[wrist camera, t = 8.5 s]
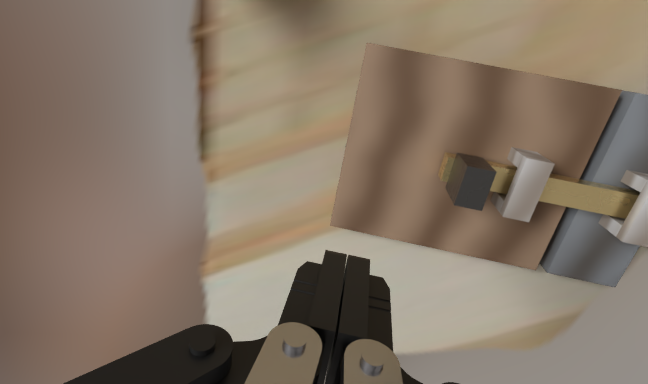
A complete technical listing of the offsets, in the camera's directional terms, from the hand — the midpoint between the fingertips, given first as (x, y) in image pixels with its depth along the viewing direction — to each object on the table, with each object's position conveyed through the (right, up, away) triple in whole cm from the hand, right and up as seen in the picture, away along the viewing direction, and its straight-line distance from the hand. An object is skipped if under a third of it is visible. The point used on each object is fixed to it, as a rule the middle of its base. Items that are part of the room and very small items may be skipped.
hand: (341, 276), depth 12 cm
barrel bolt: (+17, +4, +17) cm, 24 cm away
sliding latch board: (+14, +5, +20) cm, 25 cm away
